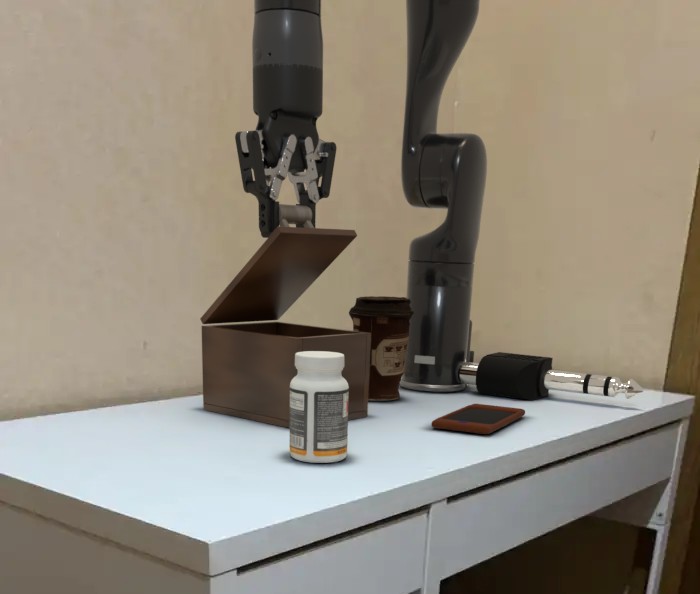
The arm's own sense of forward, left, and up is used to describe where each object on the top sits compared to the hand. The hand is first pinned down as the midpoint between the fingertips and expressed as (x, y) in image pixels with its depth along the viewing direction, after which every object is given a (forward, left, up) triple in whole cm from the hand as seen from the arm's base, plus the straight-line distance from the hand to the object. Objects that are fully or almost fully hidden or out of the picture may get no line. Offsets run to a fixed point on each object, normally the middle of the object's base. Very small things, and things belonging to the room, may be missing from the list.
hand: (287, 237), depth 106 cm
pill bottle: (+15, +19, -20) cm, 31 cm away
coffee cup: (-18, 0, -20) cm, 27 cm away
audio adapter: (-38, +15, -20) cm, 46 cm away
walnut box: (0, 0, -20) cm, 20 cm away
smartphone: (-14, +19, -20) cm, 31 cm away
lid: (0, -1, -5) cm, 5 cm away
